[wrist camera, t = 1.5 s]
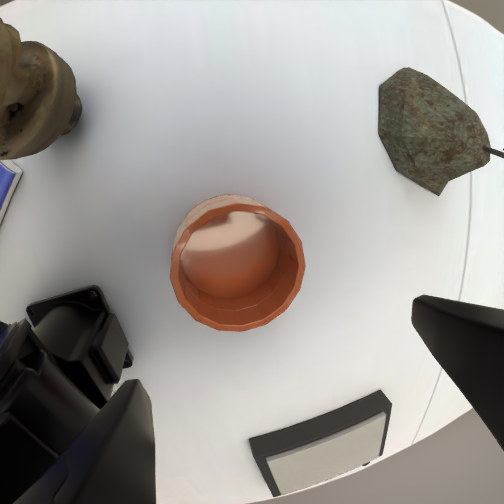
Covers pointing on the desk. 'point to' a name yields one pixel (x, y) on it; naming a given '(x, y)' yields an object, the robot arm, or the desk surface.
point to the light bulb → (33, 96)
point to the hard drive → (7, 183)
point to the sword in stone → (430, 131)
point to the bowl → (236, 263)
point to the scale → (323, 445)
